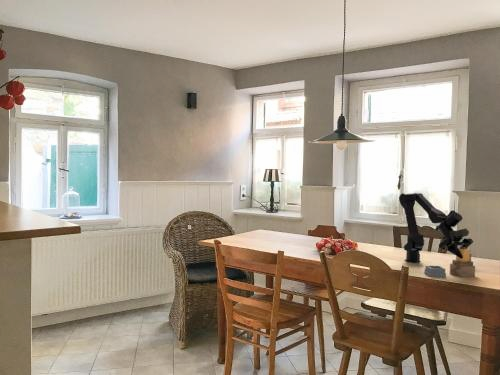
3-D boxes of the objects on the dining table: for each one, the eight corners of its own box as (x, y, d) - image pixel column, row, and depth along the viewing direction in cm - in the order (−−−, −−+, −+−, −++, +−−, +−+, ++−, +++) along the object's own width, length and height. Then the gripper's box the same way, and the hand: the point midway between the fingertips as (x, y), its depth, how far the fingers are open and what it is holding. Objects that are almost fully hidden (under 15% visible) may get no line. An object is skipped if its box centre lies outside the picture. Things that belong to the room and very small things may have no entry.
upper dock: (449, 273, 221) (450, 259, 221) (461, 272, 225) (461, 258, 224) (463, 277, 214) (463, 262, 214) (474, 276, 217) (475, 262, 217)
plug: (456, 264, 220) (457, 246, 220) (462, 263, 222) (462, 246, 221) (463, 265, 216) (464, 248, 216) (468, 265, 218) (469, 247, 218)
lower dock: (424, 273, 220) (424, 265, 220) (439, 273, 220) (440, 265, 220) (429, 276, 213) (430, 268, 213) (445, 277, 213) (446, 269, 212)
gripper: (444, 223, 218) (462, 249, 209) (471, 222, 226) (489, 247, 216) (431, 236, 226) (447, 262, 216) (457, 235, 233) (474, 260, 224)
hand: (465, 257), depth 218 cm, fingers closed on plug, 4 cm apart
